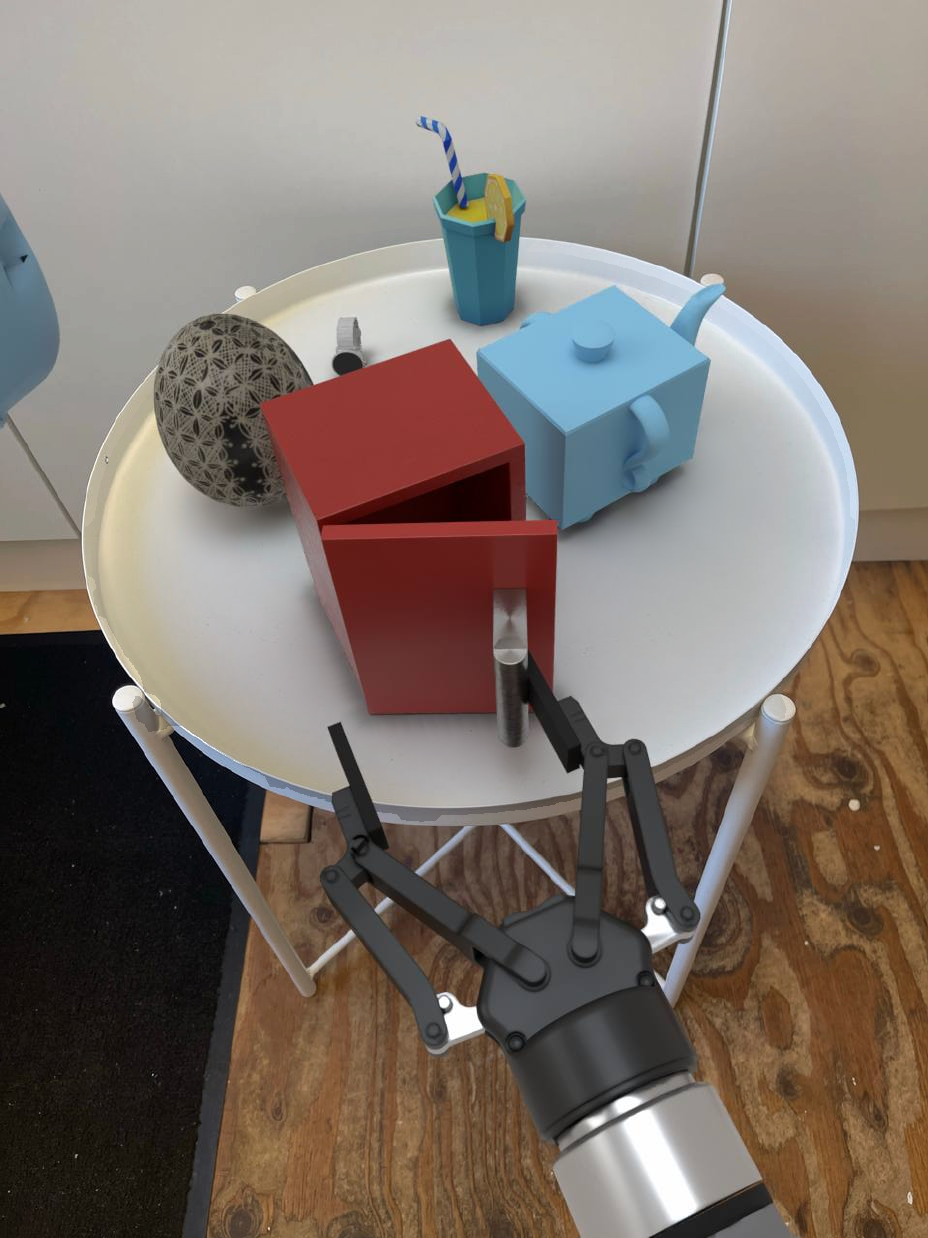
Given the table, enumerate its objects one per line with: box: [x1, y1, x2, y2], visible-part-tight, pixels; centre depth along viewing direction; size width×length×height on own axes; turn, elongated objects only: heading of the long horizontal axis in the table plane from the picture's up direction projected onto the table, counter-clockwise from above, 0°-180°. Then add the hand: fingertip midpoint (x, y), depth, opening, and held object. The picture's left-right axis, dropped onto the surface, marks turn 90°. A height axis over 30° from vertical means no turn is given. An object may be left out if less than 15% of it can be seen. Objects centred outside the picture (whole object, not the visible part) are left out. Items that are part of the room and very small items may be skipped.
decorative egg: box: [153, 313, 315, 508], centre depth 70 cm, size 12×12×15 cm
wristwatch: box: [330, 316, 367, 376], centre depth 82 cm, size 3×5×5 cm, turn 1°
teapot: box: [475, 283, 727, 531], centre depth 71 cm, size 18×16×13 cm
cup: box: [415, 115, 527, 327], centre depth 82 cm, size 14×8×15 cm, turn 37°
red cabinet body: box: [259, 338, 527, 695], centre depth 61 cm, size 10×12×18 cm
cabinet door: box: [321, 519, 559, 749], centre depth 55 cm, size 6×12×18 cm, turn 89°
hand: (431, 699), depth 53 cm, fingers open, 10 cm apart
